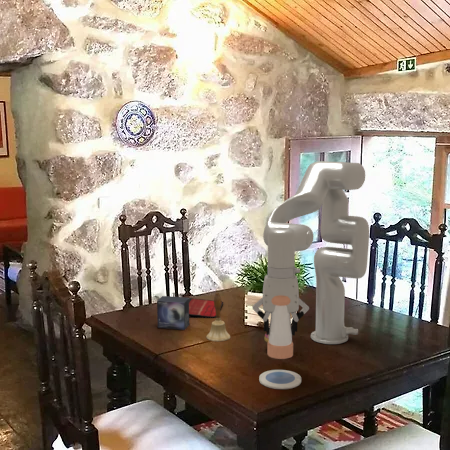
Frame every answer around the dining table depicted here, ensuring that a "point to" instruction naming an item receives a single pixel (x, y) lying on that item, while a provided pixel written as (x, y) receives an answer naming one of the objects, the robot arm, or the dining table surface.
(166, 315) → the small box
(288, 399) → the dining table surface
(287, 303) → the pepper shaker
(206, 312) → the binder
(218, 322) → the hand bell
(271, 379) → the coaster
